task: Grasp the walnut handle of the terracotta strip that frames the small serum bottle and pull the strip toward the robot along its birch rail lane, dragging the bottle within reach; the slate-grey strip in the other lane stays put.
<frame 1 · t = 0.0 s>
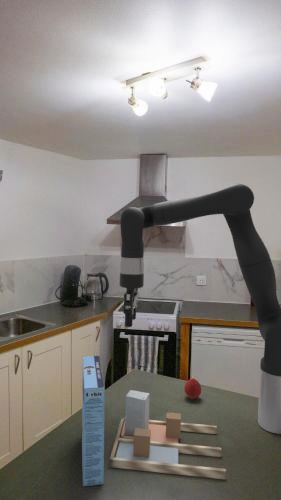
hand: (130, 322, 103), 29 cm above the kitchen island, tool pointing down, fingers open, 8 cm apart
light blue flat box: (91, 457, 84), on the kitchen island
lane rails: (167, 448, 88), on the kitchen island
strip empty: (147, 445, 84), point 4 cm above the kitchen island, slide at 0.0 cm
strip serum: (151, 425, 92), point 4 cm above the kitchen island, slide at 0.1 cm, touching skincare box
skincare box: (136, 436, 93), resting in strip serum
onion: (192, 399, 115), on the kitchen island
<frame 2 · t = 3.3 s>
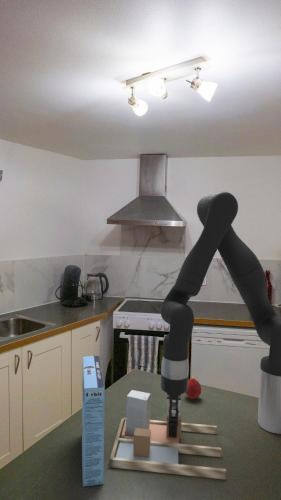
hand: (172, 432, 92), 2 cm above the kitchen island, tool pointing down, fingers closed on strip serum, 3 cm apart
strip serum: (152, 425, 92), point 4 cm above the kitchen island, slide at 0.3 cm, touching gripper, skincare box
everything else where it was.
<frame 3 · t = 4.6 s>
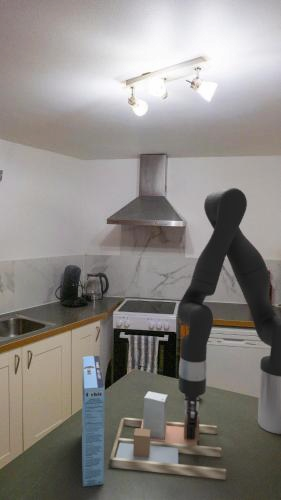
hand: (190, 433, 91), 2 cm above the kitchen island, tool pointing down, fingers closed on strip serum, 3 cm apart
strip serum: (169, 427, 92), point 4 cm above the kitchen island, slide at 5.1 cm, touching gripper, skincare box
skincare box: (154, 437, 92), resting in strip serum
everything else where it was.
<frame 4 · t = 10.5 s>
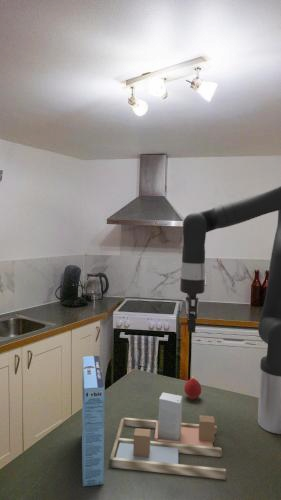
hand: (190, 328, 103), 28 cm above the kitchen island, tool pointing down, fingers open, 8 cm apart
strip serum: (184, 428, 91), point 4 cm above the kitchen island, slide at 9.3 cm, touching skincare box
skincare box: (168, 439, 92), resting in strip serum
everything else where it was.
at the end: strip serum slide at 9.3 cm; skincare box inside the target area (1.1 cm from its centre), resting in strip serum; skincare box tilted 1° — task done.
